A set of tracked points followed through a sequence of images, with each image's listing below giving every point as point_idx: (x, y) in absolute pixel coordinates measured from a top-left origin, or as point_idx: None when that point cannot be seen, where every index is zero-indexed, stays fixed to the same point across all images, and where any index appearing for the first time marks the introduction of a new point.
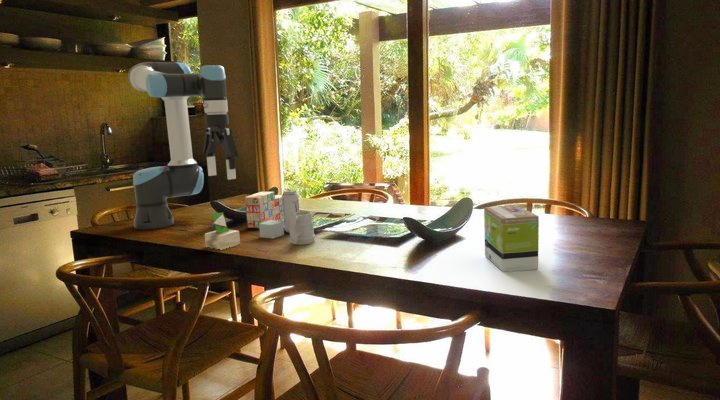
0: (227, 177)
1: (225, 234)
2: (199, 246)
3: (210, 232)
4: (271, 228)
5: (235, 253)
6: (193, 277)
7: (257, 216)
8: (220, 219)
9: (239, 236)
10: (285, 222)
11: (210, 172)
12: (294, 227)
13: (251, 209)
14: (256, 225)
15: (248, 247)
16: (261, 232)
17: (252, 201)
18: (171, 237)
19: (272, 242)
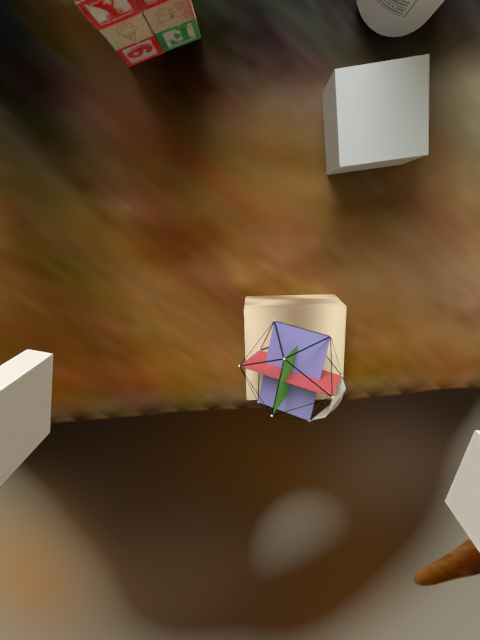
0: (457, 518)
1: (339, 373)
2: (219, 380)
3: (253, 378)
4: (413, 158)
5: (408, 381)
6: (463, 561)
7: (173, 12)
8: (335, 408)
9: (341, 302)
10: (404, 16)
11: (29, 442)
12: None
13: (124, 2)
14: (173, 41)
15: (397, 310)
16: (341, 170)
17: None
18: (10, 350)
19: (439, 214)
